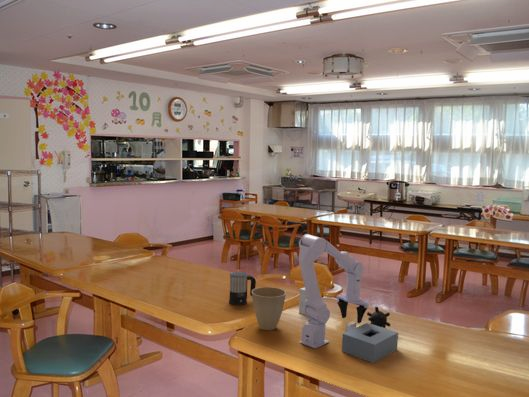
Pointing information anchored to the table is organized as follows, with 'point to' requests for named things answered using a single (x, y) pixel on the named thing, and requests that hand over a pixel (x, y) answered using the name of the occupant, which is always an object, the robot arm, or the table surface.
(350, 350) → the grey square hole block
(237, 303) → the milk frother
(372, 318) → the toy ball
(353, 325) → the wooden block
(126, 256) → the table surface
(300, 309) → the skincare box
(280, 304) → the plant pot
